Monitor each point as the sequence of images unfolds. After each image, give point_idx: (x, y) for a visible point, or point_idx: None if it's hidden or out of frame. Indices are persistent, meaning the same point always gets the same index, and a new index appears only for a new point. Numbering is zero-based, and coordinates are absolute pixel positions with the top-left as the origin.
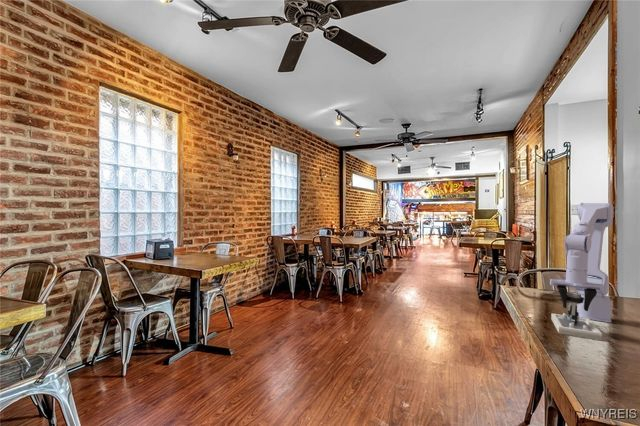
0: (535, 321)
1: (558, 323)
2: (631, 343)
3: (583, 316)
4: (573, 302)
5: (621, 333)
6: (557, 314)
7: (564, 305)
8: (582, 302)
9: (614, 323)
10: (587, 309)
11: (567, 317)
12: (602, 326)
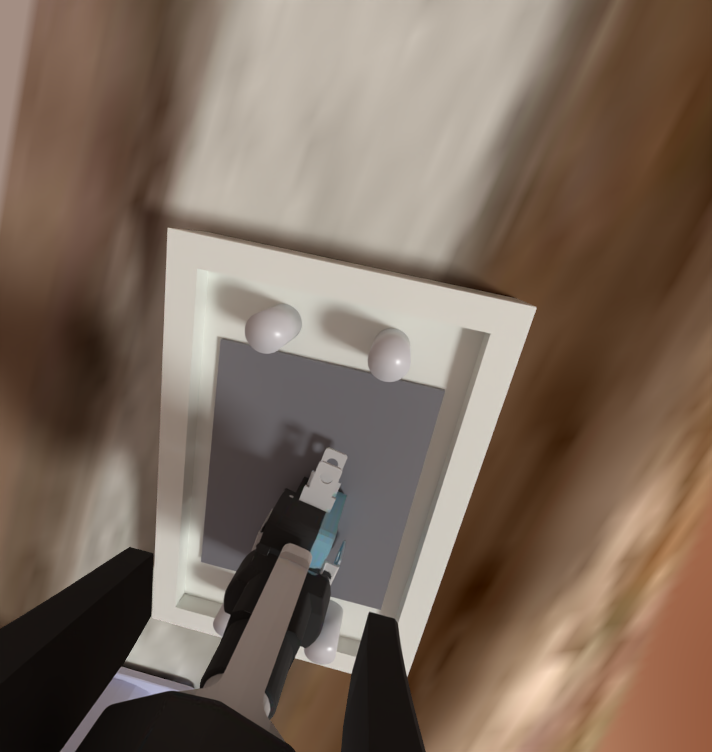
0: (573, 564)
1: (483, 423)
2: (9, 254)
3: None
4: (238, 720)
5: (25, 462)
6: None
7: (394, 650)
8: (101, 714)
9: None
10: (115, 562)
11: (338, 565)
12: None
